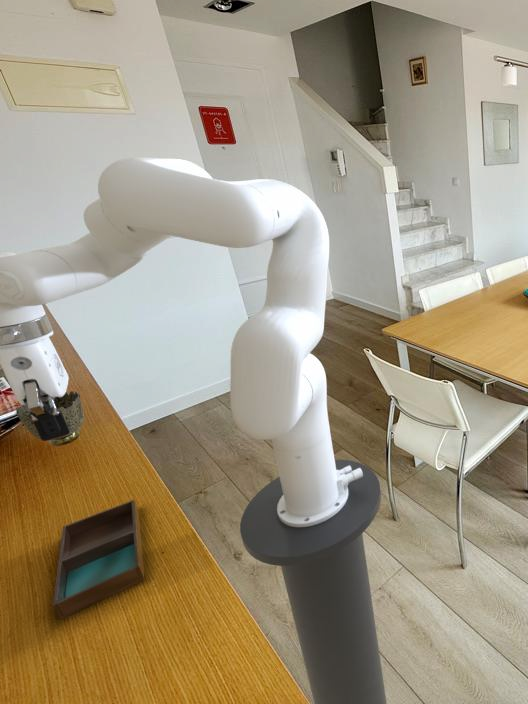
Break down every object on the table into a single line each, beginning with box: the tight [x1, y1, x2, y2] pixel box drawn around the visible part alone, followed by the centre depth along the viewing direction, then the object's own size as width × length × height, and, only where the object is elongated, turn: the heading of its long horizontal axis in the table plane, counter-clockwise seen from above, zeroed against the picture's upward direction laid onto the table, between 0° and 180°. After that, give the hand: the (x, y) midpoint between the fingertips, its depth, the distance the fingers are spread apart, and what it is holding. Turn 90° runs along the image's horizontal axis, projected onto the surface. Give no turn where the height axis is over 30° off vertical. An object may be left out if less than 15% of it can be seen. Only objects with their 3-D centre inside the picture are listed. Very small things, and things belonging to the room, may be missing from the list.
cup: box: [15, 390, 85, 447], centre depth 71 cm, size 8×7×8 cm
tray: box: [52, 499, 145, 621], centre depth 67 cm, size 9×18×3 cm, turn 42°
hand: (59, 425), depth 71 cm, fingers closed on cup, 7 cm apart
